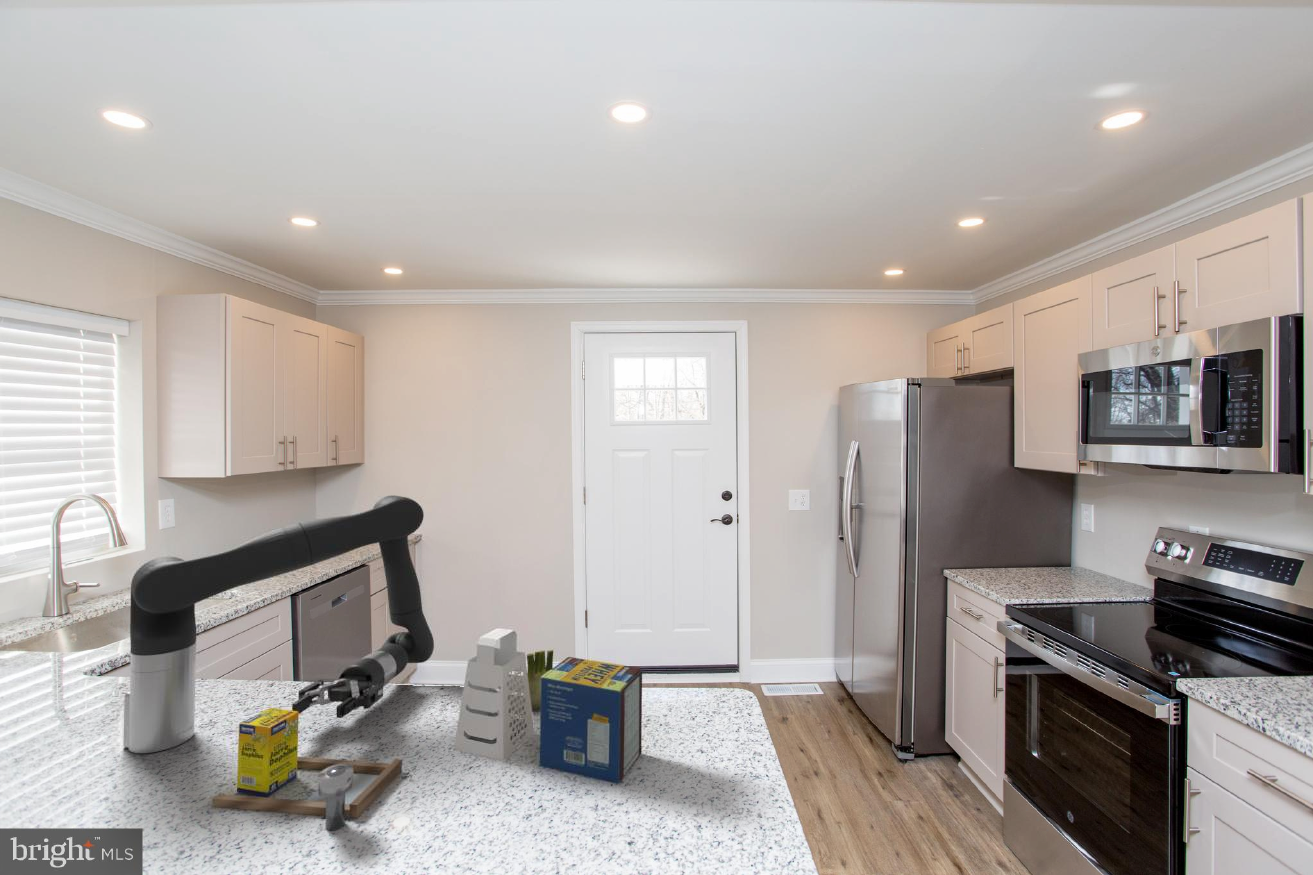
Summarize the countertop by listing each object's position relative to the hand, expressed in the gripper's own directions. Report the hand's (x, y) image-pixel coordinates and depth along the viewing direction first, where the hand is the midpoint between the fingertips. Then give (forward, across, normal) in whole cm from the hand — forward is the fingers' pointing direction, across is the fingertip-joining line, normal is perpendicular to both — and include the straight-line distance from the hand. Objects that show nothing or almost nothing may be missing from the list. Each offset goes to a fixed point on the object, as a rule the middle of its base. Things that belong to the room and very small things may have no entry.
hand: (316, 711), depth 106 cm
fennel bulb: (-21, +35, +7) cm, 41 cm away
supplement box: (+11, 0, +7) cm, 13 cm away
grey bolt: (+19, +17, +7) cm, 26 cm away
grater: (-7, +31, +7) cm, 32 cm away
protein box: (-3, +50, +7) cm, 50 cm away
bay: (+11, +7, +7) cm, 15 cm away
